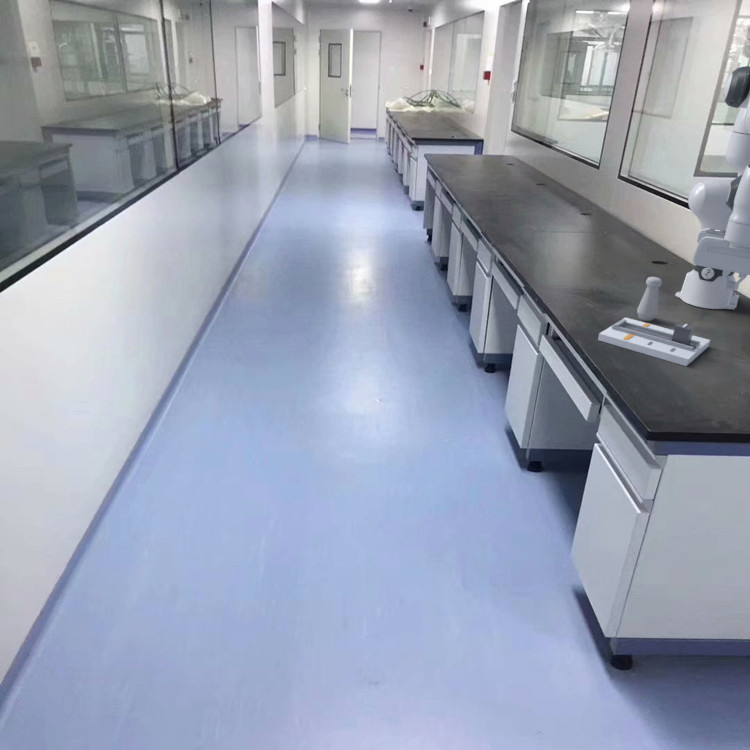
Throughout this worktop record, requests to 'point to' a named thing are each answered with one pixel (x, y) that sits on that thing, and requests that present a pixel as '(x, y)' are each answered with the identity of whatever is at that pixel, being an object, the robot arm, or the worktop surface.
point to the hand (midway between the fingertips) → (730, 289)
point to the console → (653, 341)
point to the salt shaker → (649, 300)
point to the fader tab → (683, 334)
